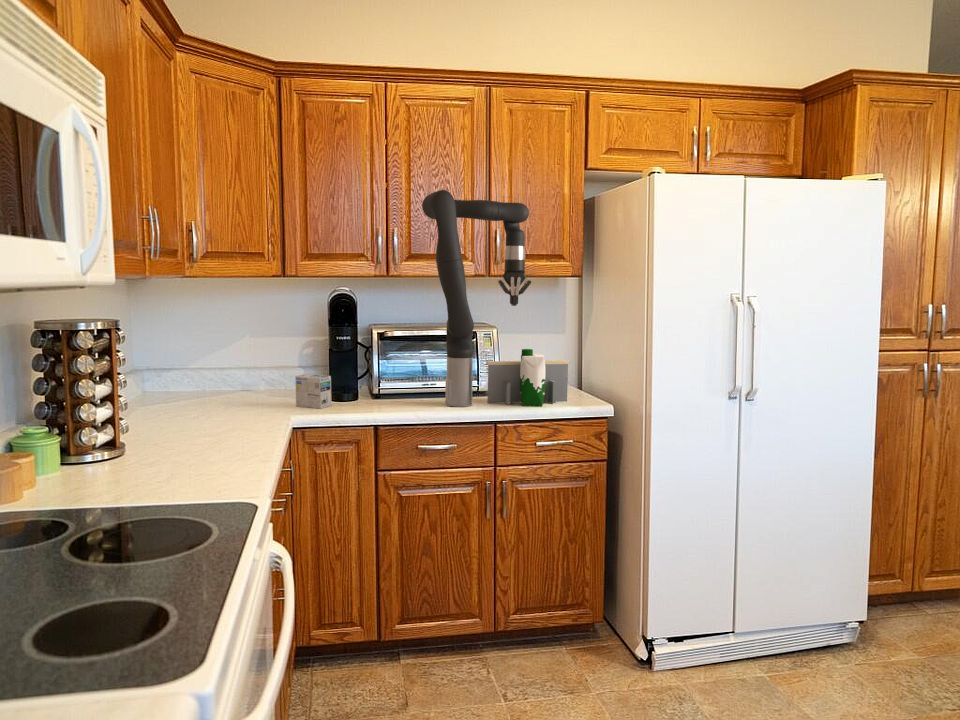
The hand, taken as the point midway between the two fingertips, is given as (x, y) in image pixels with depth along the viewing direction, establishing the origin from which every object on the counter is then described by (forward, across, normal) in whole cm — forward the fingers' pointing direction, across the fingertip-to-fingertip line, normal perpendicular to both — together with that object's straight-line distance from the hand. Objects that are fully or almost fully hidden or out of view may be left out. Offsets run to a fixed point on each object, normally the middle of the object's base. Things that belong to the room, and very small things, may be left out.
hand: (513, 305), depth 271 cm
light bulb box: (+35, +73, +6) cm, 81 cm away
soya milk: (+35, -4, +13) cm, 38 cm away
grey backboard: (+35, -4, +10) cm, 36 cm away
